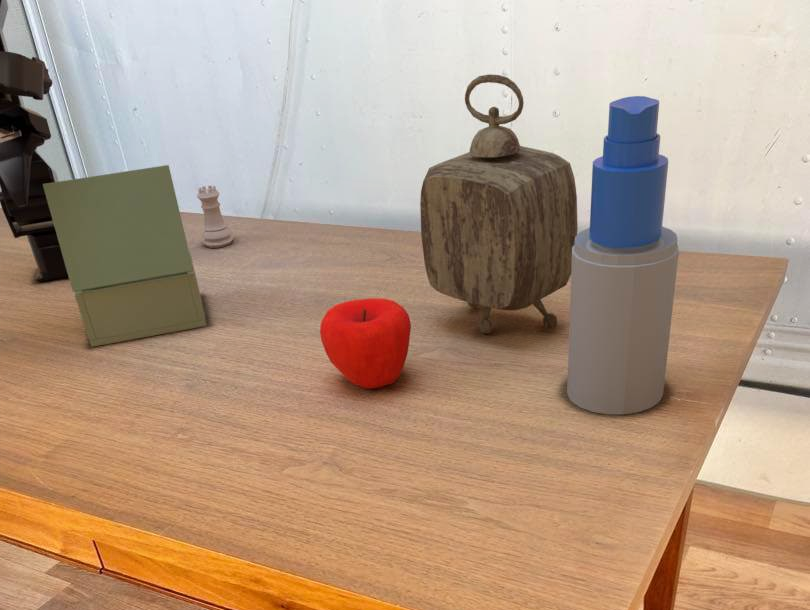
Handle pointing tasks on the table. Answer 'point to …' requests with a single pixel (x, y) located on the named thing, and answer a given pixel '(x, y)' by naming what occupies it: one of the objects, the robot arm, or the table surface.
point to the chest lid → (119, 227)
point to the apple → (367, 340)
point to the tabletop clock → (499, 219)
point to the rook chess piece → (213, 219)
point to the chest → (141, 308)
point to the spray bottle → (623, 271)
